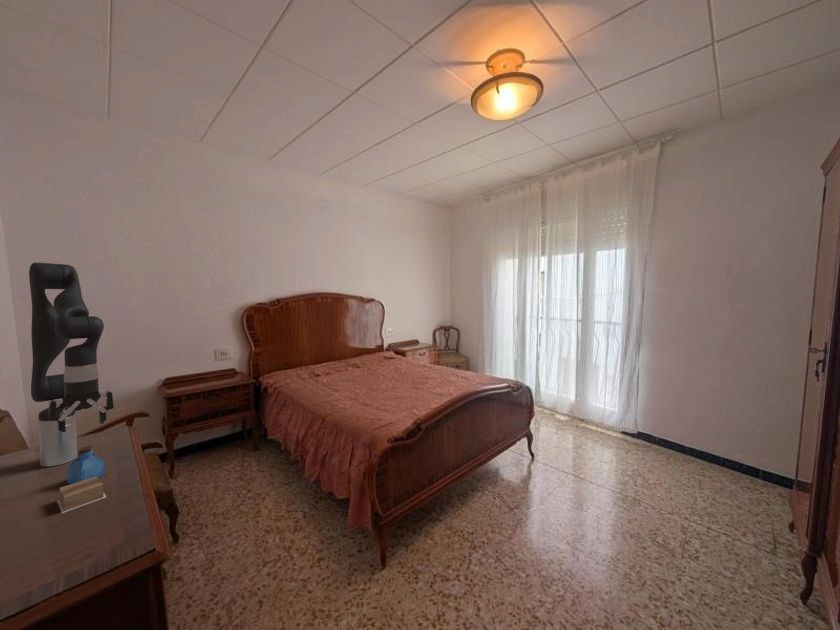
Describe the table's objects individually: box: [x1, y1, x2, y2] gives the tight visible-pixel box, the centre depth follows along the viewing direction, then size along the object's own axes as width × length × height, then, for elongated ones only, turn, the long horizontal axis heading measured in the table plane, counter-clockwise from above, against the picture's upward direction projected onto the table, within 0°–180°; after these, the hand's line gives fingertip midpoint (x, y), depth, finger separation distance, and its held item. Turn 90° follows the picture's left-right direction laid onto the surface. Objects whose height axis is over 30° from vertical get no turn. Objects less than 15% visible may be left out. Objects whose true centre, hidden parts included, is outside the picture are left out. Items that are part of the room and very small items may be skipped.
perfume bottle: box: [66, 445, 105, 485], centre depth 106 cm, size 6×6×12 cm
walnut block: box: [59, 476, 104, 512], centre depth 96 cm, size 8×8×4 cm
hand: (83, 427), depth 102 cm, fingers open, 8 cm apart
